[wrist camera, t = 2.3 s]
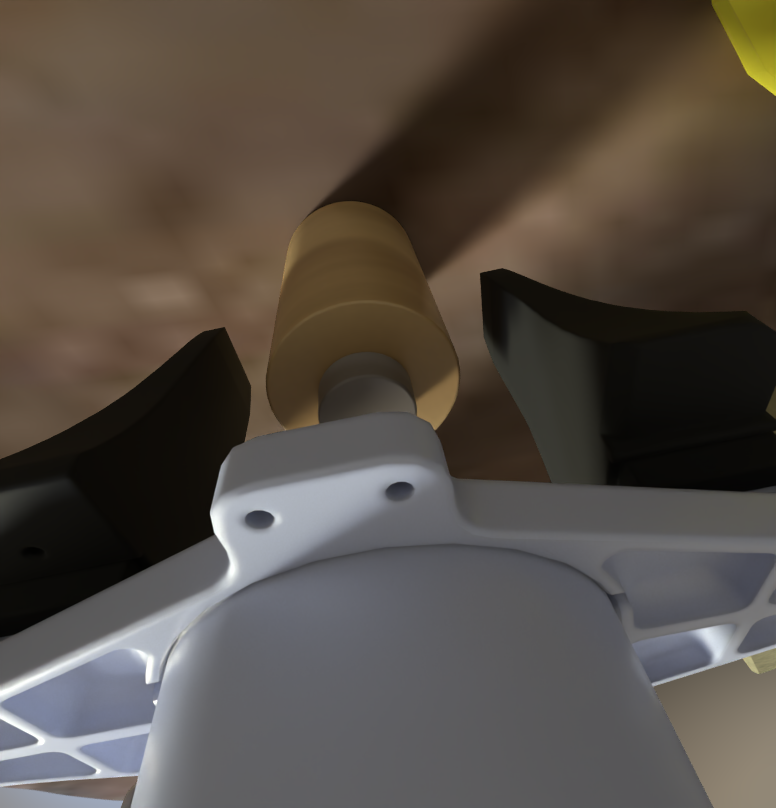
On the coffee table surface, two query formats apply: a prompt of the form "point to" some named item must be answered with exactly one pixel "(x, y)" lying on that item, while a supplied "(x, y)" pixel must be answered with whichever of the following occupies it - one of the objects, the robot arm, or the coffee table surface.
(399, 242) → the pepper mill
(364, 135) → the coffee table surface
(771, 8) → the banana
